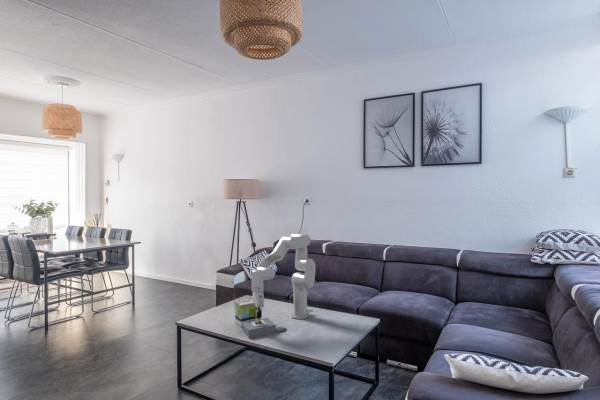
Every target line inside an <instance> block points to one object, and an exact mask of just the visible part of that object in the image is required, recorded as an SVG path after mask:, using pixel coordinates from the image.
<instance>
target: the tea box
mask: <svg viewBox="0 0 600 400" xmlns="http://www.w3.org/2000/svg"><path fill="white" fill-rule="evenodd" d="M234 306H235V308H234V309H235V310H234V311H235V314H234V316H235V319H234V320H235V321H234V322H235V324H236V325H238V327H241V328H242V323H245V322H250V321H255V320H256V317H255V307H254V305H253V298H250V299H245V300H239V301H235V303H234ZM259 307H260V306H259Z"/></svg>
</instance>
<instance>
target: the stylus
mask: <svg viewBox="0 0 600 400" xmlns="http://www.w3.org/2000/svg"><path fill="white" fill-rule="evenodd" d="M258 309H259V308H258ZM261 319H262V318H258V319H257V307H256V325H258V324H261Z"/></svg>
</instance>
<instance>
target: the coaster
mask: <svg viewBox="0 0 600 400" xmlns="http://www.w3.org/2000/svg"><path fill="white" fill-rule="evenodd" d="M285 332H287V328H286V327H284V326H279V327H278V326H276V333H279V334H281V333H285Z"/></svg>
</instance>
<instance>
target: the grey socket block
mask: <svg viewBox="0 0 600 400" xmlns="http://www.w3.org/2000/svg"><path fill="white" fill-rule="evenodd" d="M276 328H277V325H276V323H274V322H273V321H272V320H271V319H270V318H261V324H258V325H256V320H255V321H250V322H245V323H242V327H241V331H242V333H244V334H245V336H246V338H248V339H251V338H257V337H260V336H266V335H269V334H275V333H277V332H276Z"/></svg>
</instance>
